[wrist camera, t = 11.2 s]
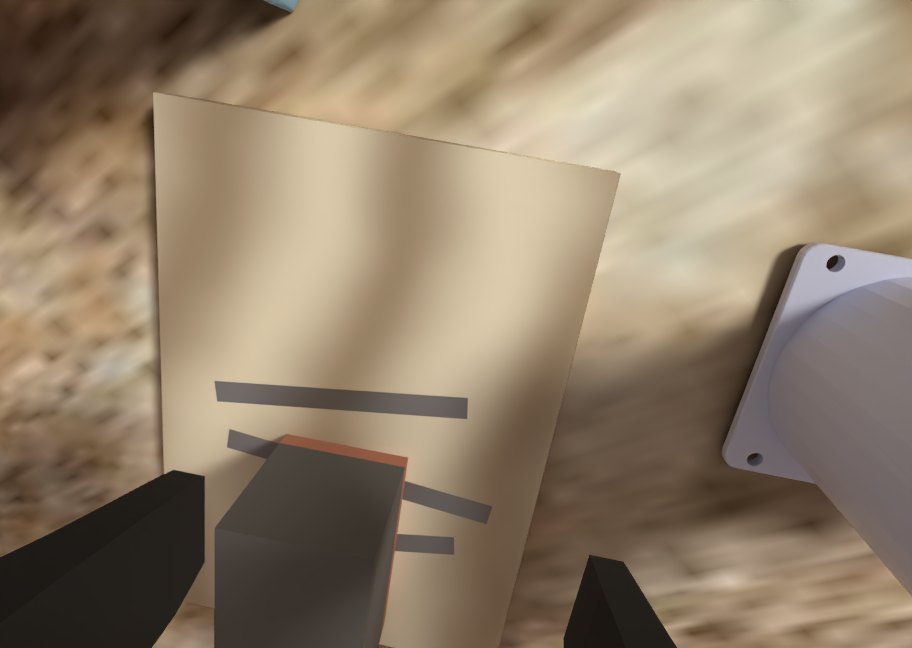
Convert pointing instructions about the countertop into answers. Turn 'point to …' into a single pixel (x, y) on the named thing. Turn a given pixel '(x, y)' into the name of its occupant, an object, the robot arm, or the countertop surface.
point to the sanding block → (309, 549)
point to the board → (374, 330)
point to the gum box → (284, 4)
